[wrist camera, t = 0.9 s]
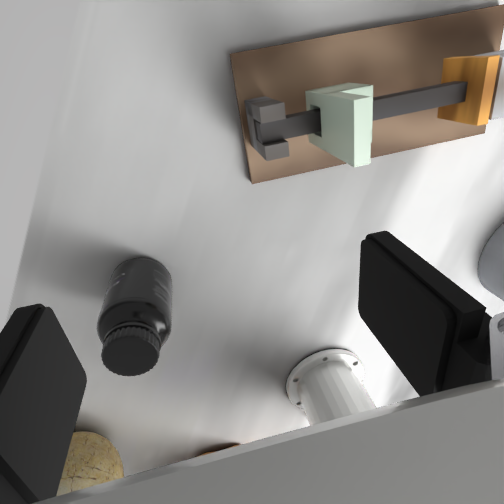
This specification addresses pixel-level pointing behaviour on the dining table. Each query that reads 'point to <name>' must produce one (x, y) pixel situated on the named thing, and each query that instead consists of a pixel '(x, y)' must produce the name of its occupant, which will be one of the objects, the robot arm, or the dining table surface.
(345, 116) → the mint green stepped block
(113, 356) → the supplement bottle
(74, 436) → the fossilized egg
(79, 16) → the dining table surface
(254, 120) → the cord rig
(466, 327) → the robot arm
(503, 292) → the tape roll
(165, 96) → the dining table surface
